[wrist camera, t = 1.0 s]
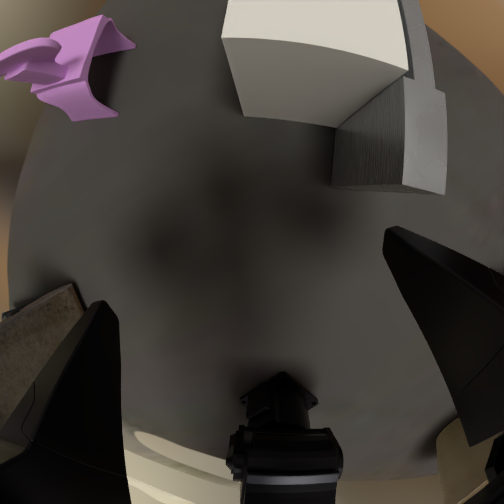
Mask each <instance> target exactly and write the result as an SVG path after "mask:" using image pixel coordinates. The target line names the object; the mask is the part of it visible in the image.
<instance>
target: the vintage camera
mask: <svg viewBox="0 0 504 504" xmlns="http://www.w3.org/2000/svg"><path fill="white" fill-rule="evenodd" d="M84 313H85V312H84V310H83V308H82V306H81V303H80V301H79V299H78V296H77V294H76V292H75V289H74V287H73V284H71V283H70V284H68V285H64V286H62V287H60V288H58V289H56V290H54V291H51V292H50V293H48V294H46V295H44V296H42V297H41V298H39V299H37V300H36V301H34V302H33V303H31V304H29V305H25V306H22V307H19V308H16V309H13V310H10V311H7V312H4V313H2V321H1V322H0V429H1V428H2V426H3V425H4V423H5V422H6V420H7V419H8V417H9V416H10V415H11V413H12V412H13V410H14V409H15V407H16V406H17V405H18V403H19V402H20V400H21V399H22V397H23V396H24V394H25V393H26V391H27V390H28V388H29V387H30V385H31V384H32V382H33V381H35V378H36V376H37V375H38V374H39V372H40V371H41V369H42V368H43V366H44V365H45V364H46V362H47V361H48V359H49V358H50V357H51V355H52V354H53V352H54V351H55V350H56V348H57V347H58V346H59V344H60V343H61V342H62V340H63V339H64V338H65V337H66V335H67V334H68V333H69V331H70V330H71V329H72V328H73V326H74V325H75V324H76V322H77V321H78V320H79V319H80V318H81V316H82V315H83V314H84Z"/></svg>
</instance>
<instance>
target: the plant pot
mask: <svg viewBox="0 0 504 504" xmlns="http://www.w3.org/2000/svg"><path fill="white" fill-rule="evenodd" d="M499 434H501V433H498V434H496V435H495V436H493V437H491V438H489V439H487V440H485V441H483V442H481V443H479V444H477V445H475V446H473V447H469V445H468V442H467V439H466V436H465V433H464V430H463V427H462V424H461V421H460V418H457V419H455V420H454V421H453V422H451V423H450V424H449V425H448V426H446V427H445V428H444V429H443V430H442V431H441V433H440V434H439V435H438V437H437V439H436V449H437V462H438V471H439V478H440V485H441V491H442V495H443V500H444V504H463V503H464V502H465V501H467V500H468V499H469V498H471V497H472V496H473V495H475V494H476V493H477V492H479V491H480V490H481V489H482V488H484V487H485V486H486V485H487V484H488V483H489V482H488V479H487V476H486V473H485V470H484V469H485V467H486V464H487V461H488V458H489V455H490V451H491V448H492V445H493V441H494V439H495V438H496V437H497V436H498V435H499Z"/></svg>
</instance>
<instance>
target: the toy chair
mask: <svg viewBox="0 0 504 504" xmlns="http://www.w3.org/2000/svg"><path fill="white" fill-rule="evenodd" d="M136 46H137V45H136V44H134V43H133V42H132V41H130V40H129V39H128V38H126V37H125V36H124V35H123V34H121V33H120V32H119V31H118V29H117V28H116V26H115V24H114V22H113V20H112V19H111V18H106V17H105V16H104V15H99V16H96V17H93V18H90V19H87V20H85V21H83V22H80V23H78V24H75V25H72V26H69V27H66V28H63V29H60V30H58V31H56V32H53V33H51V35H50V38H36V39H31V40H28V41H25V42H22V43H20V44H18V45H15V46H13V47H11V48H9V49H7V50H5V51H3V52H2V53H0V77H1V76H4V75H5V80H11V81H21V82H28V83H33V84H32V88H31V93H34V94H37V97H38V99H40V100H41V101H44V102H46V103H49V104H52V105H54V106H57V107H59V108H61V109H62V110H64V111H65V112H66V113H67V114H68V116H69V117H70V119H71V121H81V120H89V119H98V118H108V117H118V116H119V113H118V112H116V111H114V110H112V109H110V108H108V107H106V106H105V105H103V104H101V103H100V102H99V101H97V100H96V99H95V98H94V96H93V95H92V92H91V89H90V86H89V83H88V73H89V68H90V65H91V61H92V57H94V56H98V55H103V54H107V53H112V52H117V51H123V50H128V49H134V48H136Z"/></svg>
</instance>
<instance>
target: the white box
mask: <svg viewBox="0 0 504 504" xmlns="http://www.w3.org/2000/svg"><path fill="white" fill-rule="evenodd" d="M221 38H222V42H223V45H224V48H225V52H226V55H227V59H228V62H229V65H230V69H231V72H232V76H233V79H234V83H235V86H236V90H237V93H238V97H239V101H240V104H241V108H242V111H243V115H244V116H247V117H260V118H271V119H280V120H289V121H296V122H304V123H310V124H317V125H323V126H328V127H334V128H337V127H339V126H340V125H341V124H342V123H343V122H345V121H346V120H347V119H348V118H349V117H351V116H352V115H353V114H354V113H355V112H357V111H358V110H359V109H360V108H362V107H363V106H364V105H365V104H367V103H368V102H369V101H370V100H372V99H373V98H374V97H375V96H377V95H378V94H379V93H380V92H382V91H383V90H384V89H385V88H387V87H388V86H389V85H390V84H392V83H393V82H394V81H396V80H397V79H398V78H399V77H401V76H402V75H403V74H405V73H406V72H407V71H409V70H408V60H407V52H406V45H405V38H404V32H403V26H402V21H401V16H400V11H399V7H398V2H397V0H229V2H228V6H227V11H226V16H225V21H224V26H223V31H222V36H221Z"/></svg>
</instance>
